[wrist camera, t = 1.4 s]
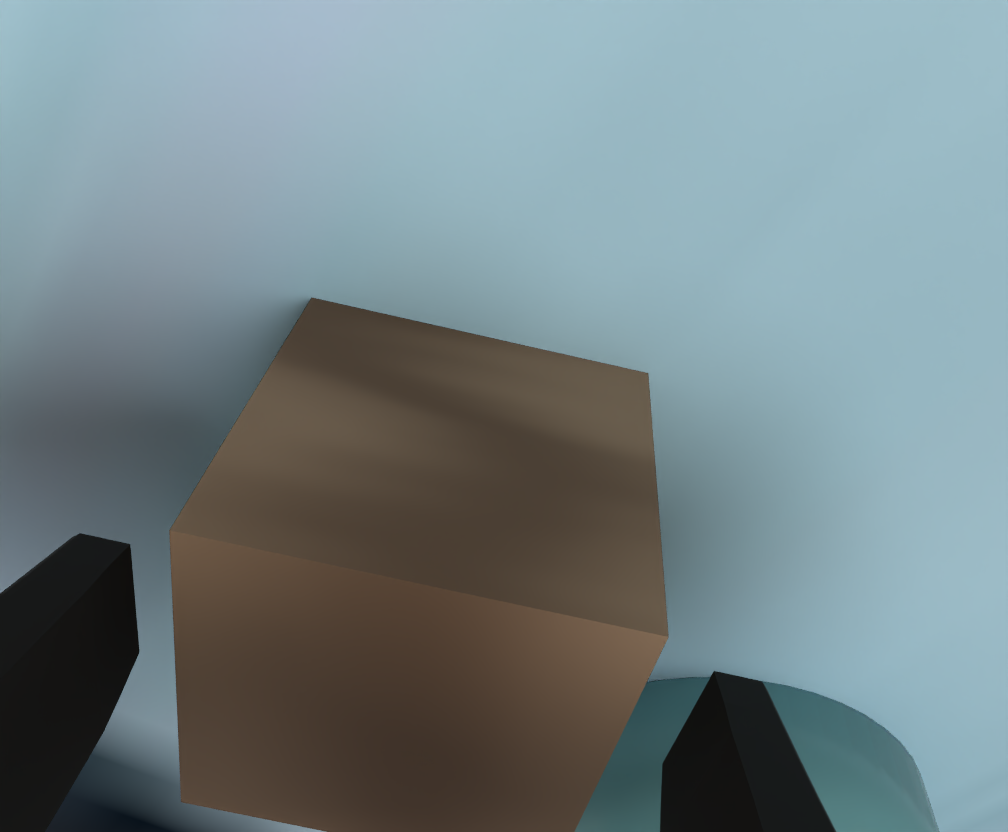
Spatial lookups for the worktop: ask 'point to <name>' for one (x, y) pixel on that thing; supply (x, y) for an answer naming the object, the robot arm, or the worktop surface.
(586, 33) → the worktop surface
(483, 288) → the worktop surface
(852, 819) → the teal puck
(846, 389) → the worktop surface
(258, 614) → the walnut cube
